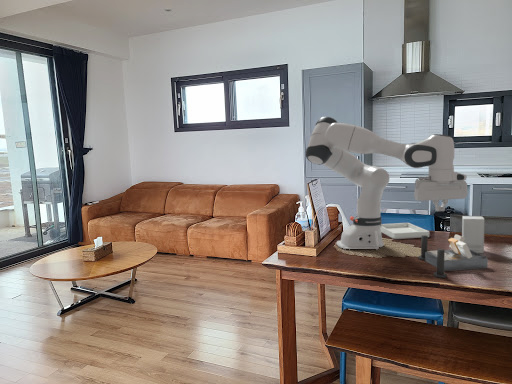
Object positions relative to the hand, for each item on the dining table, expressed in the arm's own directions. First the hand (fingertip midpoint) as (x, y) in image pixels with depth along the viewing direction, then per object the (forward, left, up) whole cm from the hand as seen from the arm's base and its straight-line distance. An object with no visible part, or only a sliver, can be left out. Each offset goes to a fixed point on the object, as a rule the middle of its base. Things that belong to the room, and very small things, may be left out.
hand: (440, 210), depth 145 cm
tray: (+11, +53, -22) cm, 59 cm away
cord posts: (-4, -1, -22) cm, 23 cm away
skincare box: (+25, +15, -23) cm, 37 cm away
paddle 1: (+9, +5, -18) cm, 21 cm away
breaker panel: (+7, 0, -22) cm, 23 cm away
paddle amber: (+9, 0, -18) cm, 20 cm away
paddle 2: (+9, -5, -18) cm, 21 cm away
